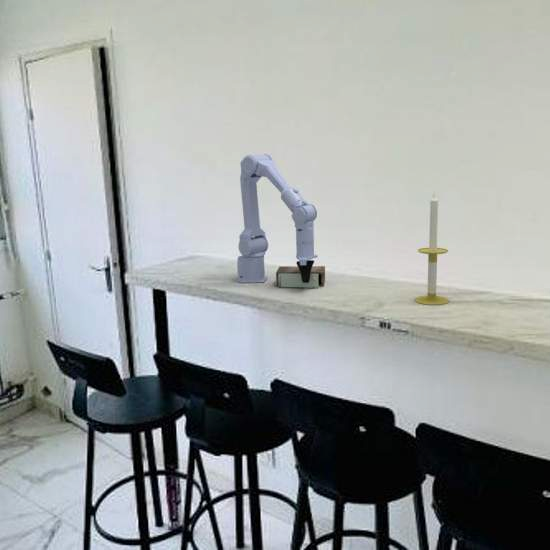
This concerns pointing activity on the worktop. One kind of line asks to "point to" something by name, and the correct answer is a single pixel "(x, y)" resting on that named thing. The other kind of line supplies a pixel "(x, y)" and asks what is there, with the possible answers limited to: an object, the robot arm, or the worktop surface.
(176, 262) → the worktop surface
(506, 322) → the worktop surface
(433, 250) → the candle
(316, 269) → the cabinet
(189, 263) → the worktop surface
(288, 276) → the door
